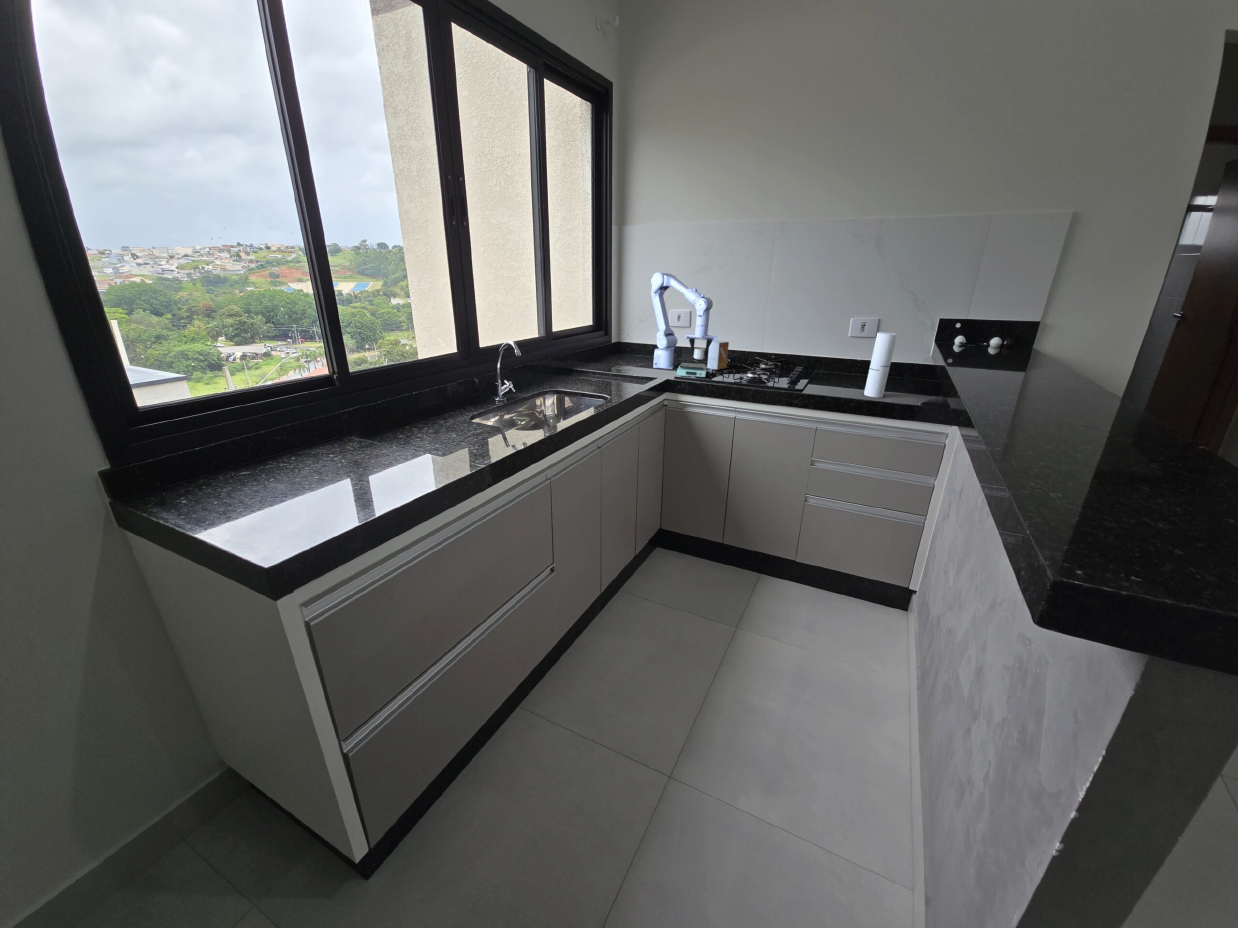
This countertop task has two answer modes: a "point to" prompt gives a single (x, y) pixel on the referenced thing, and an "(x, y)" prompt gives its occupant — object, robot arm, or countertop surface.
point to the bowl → (699, 353)
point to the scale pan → (692, 365)
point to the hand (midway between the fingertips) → (699, 355)
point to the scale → (692, 372)
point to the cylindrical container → (880, 364)
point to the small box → (718, 355)
